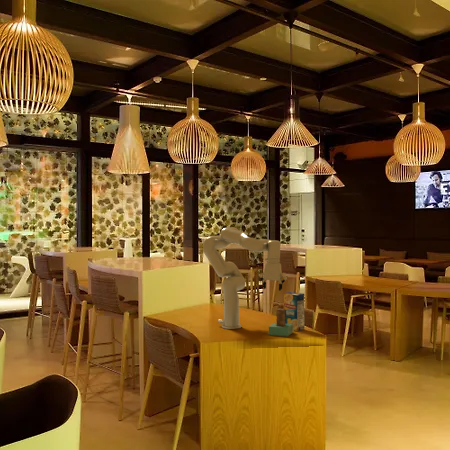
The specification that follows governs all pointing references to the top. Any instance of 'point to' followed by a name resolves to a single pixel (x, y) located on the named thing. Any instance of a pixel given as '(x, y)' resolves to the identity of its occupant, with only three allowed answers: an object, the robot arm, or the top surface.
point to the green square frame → (280, 330)
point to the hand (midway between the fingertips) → (272, 289)
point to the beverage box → (294, 310)
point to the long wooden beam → (280, 317)
